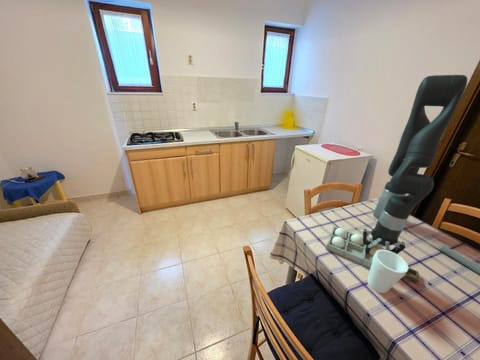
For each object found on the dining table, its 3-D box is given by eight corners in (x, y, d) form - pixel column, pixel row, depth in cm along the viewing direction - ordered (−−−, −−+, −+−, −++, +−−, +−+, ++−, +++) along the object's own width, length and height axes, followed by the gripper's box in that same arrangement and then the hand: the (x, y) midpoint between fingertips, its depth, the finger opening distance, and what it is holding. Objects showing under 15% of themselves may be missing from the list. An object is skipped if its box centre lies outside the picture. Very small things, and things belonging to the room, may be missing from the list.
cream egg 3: (349, 238, 92) (353, 230, 90) (361, 242, 90) (365, 234, 88) (348, 244, 88) (351, 236, 86) (360, 249, 86) (364, 241, 84)
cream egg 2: (331, 240, 90) (334, 232, 88) (343, 245, 88) (346, 237, 86) (329, 247, 87) (332, 239, 84) (341, 252, 84) (344, 244, 82)
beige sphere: (367, 249, 82) (372, 240, 80) (381, 254, 80) (386, 245, 78) (367, 257, 79) (371, 248, 76) (381, 263, 76) (386, 254, 74)
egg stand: (401, 268, 79) (403, 265, 78) (416, 275, 76) (418, 271, 76) (402, 277, 75) (404, 274, 74) (417, 284, 73) (420, 281, 72)
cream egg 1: (334, 232, 95) (337, 224, 93) (345, 236, 93) (348, 228, 91) (332, 238, 92) (335, 230, 89) (344, 243, 89) (347, 234, 87)
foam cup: (378, 300, 67) (393, 275, 61) (357, 276, 75) (368, 252, 69) (399, 293, 70) (415, 268, 64) (376, 271, 77) (389, 247, 71)
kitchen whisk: (491, 285, 74) (502, 274, 71) (394, 229, 100) (399, 220, 97) (497, 279, 76) (507, 268, 73) (401, 226, 103) (406, 216, 100)
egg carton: (332, 230, 97) (333, 226, 96) (382, 250, 87) (384, 245, 86) (325, 249, 87) (327, 244, 85) (381, 273, 77) (384, 268, 75)
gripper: (414, 225, 71) (395, 258, 79) (369, 210, 78) (355, 242, 86) (416, 237, 65) (396, 271, 73) (367, 220, 72) (353, 253, 80)
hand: (374, 255), depth 79 cm, fingers closed on beige sphere, 4 cm apart
